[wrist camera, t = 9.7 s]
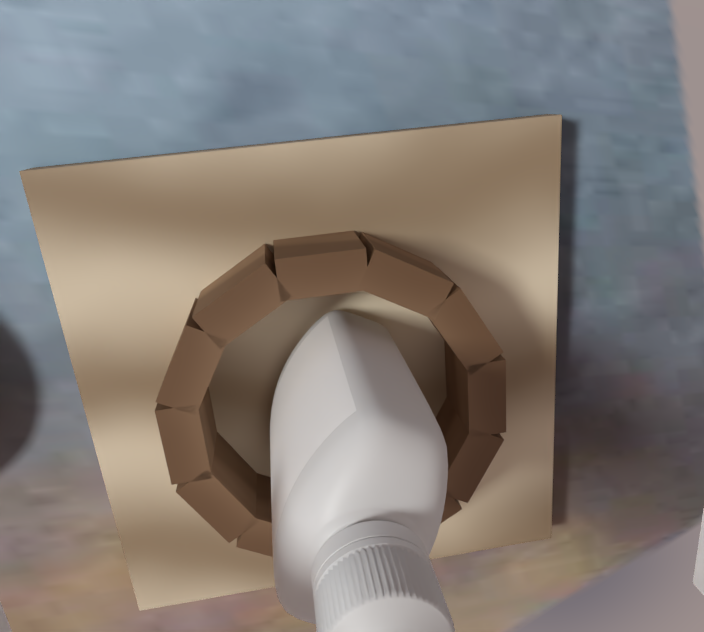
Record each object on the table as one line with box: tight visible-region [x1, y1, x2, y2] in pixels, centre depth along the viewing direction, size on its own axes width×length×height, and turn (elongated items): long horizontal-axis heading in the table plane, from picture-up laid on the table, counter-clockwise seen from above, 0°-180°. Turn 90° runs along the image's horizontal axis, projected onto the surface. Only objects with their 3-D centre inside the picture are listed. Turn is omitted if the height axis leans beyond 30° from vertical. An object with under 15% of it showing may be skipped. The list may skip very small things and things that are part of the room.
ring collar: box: [19, 114, 562, 610], centre depth 20 cm, size 16×16×4 cm
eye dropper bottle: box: [270, 310, 455, 632], centre depth 15 cm, size 4×6×12 cm
